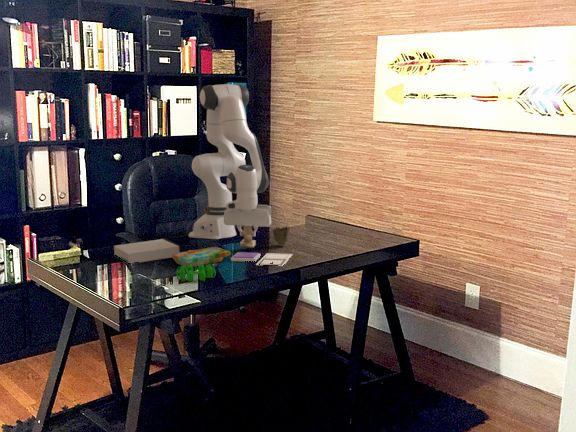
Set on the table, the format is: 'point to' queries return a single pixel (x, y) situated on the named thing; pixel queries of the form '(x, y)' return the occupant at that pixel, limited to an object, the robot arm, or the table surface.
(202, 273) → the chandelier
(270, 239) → the table surface
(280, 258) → the form
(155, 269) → the table surface
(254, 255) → the ink pad
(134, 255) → the disc drive
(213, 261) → the multicoloured oblong shape
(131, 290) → the table surface
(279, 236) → the cup
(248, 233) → the stamp
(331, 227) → the table surface
